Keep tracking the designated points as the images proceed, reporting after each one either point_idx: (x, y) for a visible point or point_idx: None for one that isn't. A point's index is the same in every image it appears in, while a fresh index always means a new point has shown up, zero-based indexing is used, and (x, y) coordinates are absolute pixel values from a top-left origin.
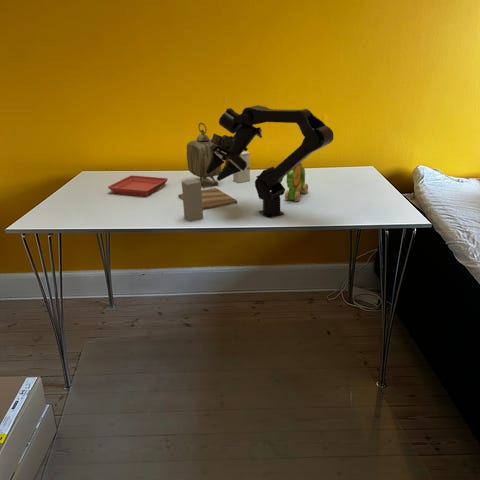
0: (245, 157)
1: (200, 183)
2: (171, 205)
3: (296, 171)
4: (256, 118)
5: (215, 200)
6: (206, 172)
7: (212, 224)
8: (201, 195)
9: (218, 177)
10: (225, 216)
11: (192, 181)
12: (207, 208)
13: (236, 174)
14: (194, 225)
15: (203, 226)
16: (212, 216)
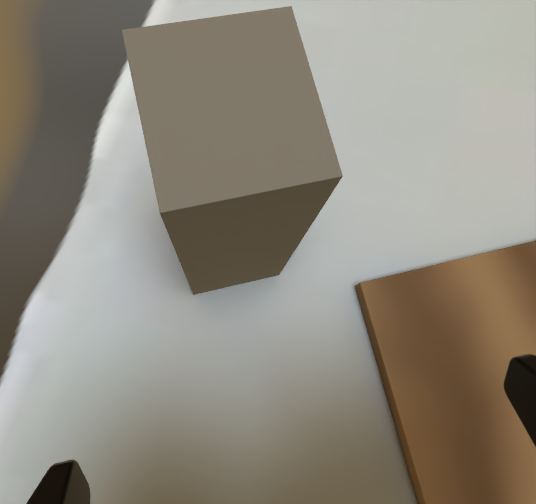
0: None
1: (161, 210)
2: (493, 151)
3: None
4: None
5: (497, 449)
6: (513, 358)
7: (71, 336)
8: (177, 254)
9: (33, 499)
10: (190, 461)
11: (236, 117)
12: (377, 361)
13: None
14: (101, 221)
15: (60, 271)
16: (221, 367)
